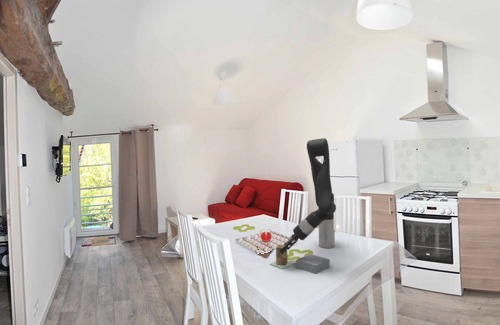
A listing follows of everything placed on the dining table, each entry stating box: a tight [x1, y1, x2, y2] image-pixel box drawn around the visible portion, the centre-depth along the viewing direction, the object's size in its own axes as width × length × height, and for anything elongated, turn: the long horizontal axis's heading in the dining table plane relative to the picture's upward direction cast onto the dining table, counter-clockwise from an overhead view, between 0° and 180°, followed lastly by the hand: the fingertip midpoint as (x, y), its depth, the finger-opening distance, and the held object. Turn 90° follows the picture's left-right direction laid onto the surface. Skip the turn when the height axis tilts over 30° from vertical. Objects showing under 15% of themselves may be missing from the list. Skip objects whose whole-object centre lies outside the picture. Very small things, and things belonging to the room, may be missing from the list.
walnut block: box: [275, 244, 289, 266], centre depth 170 cm, size 5×5×9 cm
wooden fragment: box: [256, 250, 273, 259], centre depth 193 cm, size 26×11×1 cm, turn 176°
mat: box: [269, 260, 295, 270], centre depth 170 cm, size 9×9×1 cm
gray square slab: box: [295, 253, 331, 275], centre depth 165 cm, size 12×12×4 cm
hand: (282, 249), depth 170 cm, fingers open, 8 cm apart
